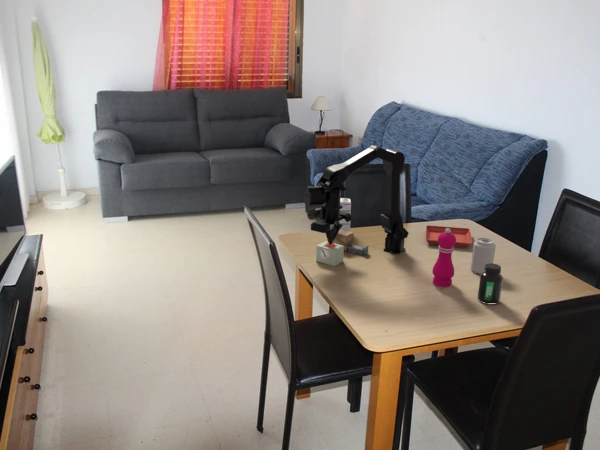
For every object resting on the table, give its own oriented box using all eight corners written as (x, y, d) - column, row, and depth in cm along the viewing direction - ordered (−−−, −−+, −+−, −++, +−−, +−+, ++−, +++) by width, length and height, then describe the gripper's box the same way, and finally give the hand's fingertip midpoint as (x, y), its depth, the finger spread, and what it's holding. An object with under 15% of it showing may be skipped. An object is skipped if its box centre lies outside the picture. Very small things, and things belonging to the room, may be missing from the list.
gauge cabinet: (343, 261, 220) (343, 245, 218) (333, 266, 215) (334, 250, 213) (324, 255, 224) (325, 241, 222) (315, 261, 219) (315, 245, 217)
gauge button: (335, 253, 219) (336, 243, 218) (331, 256, 217) (331, 245, 215) (328, 251, 221) (328, 241, 219) (323, 254, 218) (324, 243, 217)
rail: (367, 253, 228) (368, 245, 227) (364, 255, 225) (364, 247, 224) (334, 244, 236) (335, 237, 235) (330, 246, 233) (330, 239, 232)
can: (493, 269, 216) (497, 238, 212) (490, 277, 209) (494, 245, 205) (472, 265, 219) (476, 235, 215) (468, 273, 212) (472, 241, 208)
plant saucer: (424, 246, 237) (425, 238, 236) (425, 231, 254) (426, 224, 253) (471, 251, 234) (472, 243, 233) (469, 235, 250) (469, 228, 249)
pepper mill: (440, 289, 198) (446, 233, 192) (426, 281, 204) (432, 226, 198) (457, 285, 202) (464, 230, 195) (443, 277, 208) (449, 223, 201)
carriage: (352, 247, 232) (353, 232, 230) (345, 251, 228) (346, 235, 226) (339, 244, 236) (340, 229, 233) (332, 247, 232) (333, 232, 230)
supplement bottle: (490, 307, 187) (495, 272, 183) (472, 299, 192) (477, 264, 188) (503, 301, 191) (509, 267, 187) (486, 294, 196) (490, 260, 192)
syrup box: (350, 235, 246) (352, 202, 241) (335, 235, 246) (337, 201, 241) (349, 231, 251) (351, 198, 246) (335, 230, 251) (336, 197, 247)
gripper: (327, 193, 224) (325, 232, 229) (298, 204, 209) (297, 246, 215) (352, 198, 218) (350, 238, 223) (325, 210, 203) (323, 253, 209)
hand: (330, 243), depth 217 cm, fingers closed, pressing on gauge button
